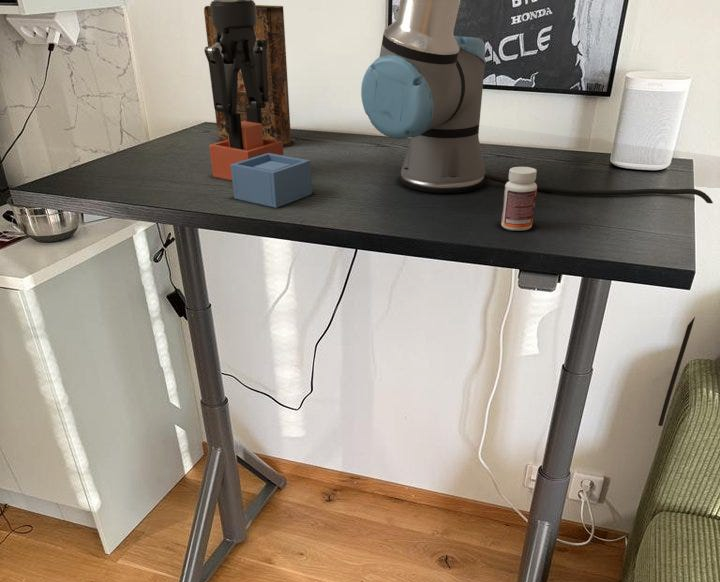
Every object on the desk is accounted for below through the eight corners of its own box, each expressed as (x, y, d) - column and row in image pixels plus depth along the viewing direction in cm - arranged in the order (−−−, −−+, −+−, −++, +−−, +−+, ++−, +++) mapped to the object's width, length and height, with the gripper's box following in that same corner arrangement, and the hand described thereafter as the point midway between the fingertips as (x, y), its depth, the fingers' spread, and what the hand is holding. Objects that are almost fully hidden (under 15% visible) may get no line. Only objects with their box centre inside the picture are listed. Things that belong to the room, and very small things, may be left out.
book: (295, 142, 158) (287, 6, 143) (281, 148, 154) (272, 8, 139) (232, 135, 164) (219, 3, 149) (218, 140, 160) (202, 5, 145)
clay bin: (284, 173, 139) (282, 141, 135) (250, 184, 133) (247, 151, 129) (247, 165, 143) (244, 134, 140) (212, 176, 137) (209, 144, 134)
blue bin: (312, 194, 128) (310, 160, 124) (276, 208, 121) (273, 172, 118) (270, 185, 132) (268, 152, 129) (234, 198, 126) (230, 164, 122)
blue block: (292, 191, 127) (290, 164, 124) (276, 198, 124) (273, 170, 121) (272, 187, 129) (270, 160, 126) (255, 194, 126) (253, 166, 123)
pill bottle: (537, 229, 112) (545, 172, 107) (510, 233, 111) (517, 175, 105) (522, 220, 115) (529, 164, 110) (495, 223, 114) (501, 167, 109)
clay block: (263, 150, 136) (261, 123, 133) (247, 155, 133) (245, 128, 130) (246, 146, 138) (243, 120, 135) (229, 151, 135) (226, 125, 132)
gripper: (251, -5, 128) (262, 137, 143) (177, 2, 117) (198, 156, 131) (283, -4, 125) (292, 142, 139) (211, 4, 114) (228, 162, 128)
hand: (246, 149), depth 135 cm, fingers closed on clay block, 4 cm apart
